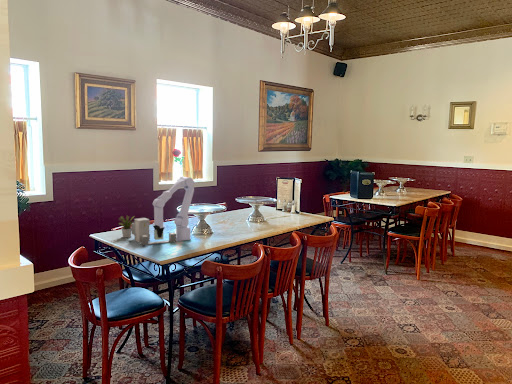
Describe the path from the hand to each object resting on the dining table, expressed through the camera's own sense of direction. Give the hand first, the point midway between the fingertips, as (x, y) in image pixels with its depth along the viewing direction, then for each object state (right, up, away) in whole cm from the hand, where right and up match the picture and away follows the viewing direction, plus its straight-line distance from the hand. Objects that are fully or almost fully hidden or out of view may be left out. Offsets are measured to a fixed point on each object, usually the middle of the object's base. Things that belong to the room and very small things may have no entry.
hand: (158, 236), depth 260 cm
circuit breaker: (-15, -3, +9) cm, 18 cm away
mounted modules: (0, -5, +1) cm, 5 cm away
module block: (0, -2, 0) cm, 2 cm away
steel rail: (0, -5, +1) cm, 5 cm away
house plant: (-28, -2, +16) cm, 32 cm away
